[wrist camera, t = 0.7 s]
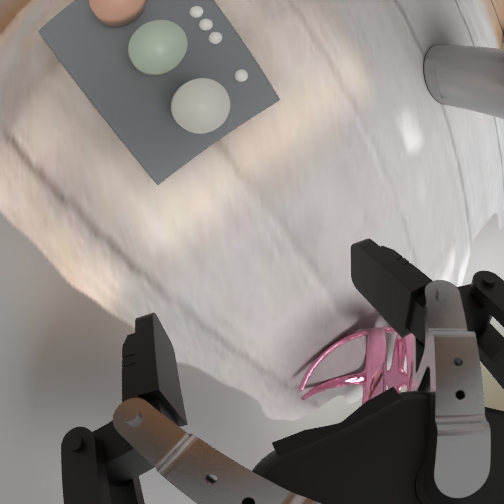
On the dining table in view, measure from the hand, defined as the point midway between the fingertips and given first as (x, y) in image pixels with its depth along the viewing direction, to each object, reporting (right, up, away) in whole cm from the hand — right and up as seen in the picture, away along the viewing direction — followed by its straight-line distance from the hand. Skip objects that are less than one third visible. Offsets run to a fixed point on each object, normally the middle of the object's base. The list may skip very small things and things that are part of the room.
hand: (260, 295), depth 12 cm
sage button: (-8, +18, +9) cm, 22 cm away
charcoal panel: (-9, +20, +11) cm, 24 cm away
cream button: (-5, +14, +12) cm, 19 cm away
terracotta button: (-11, +22, +5) cm, 25 cm away
